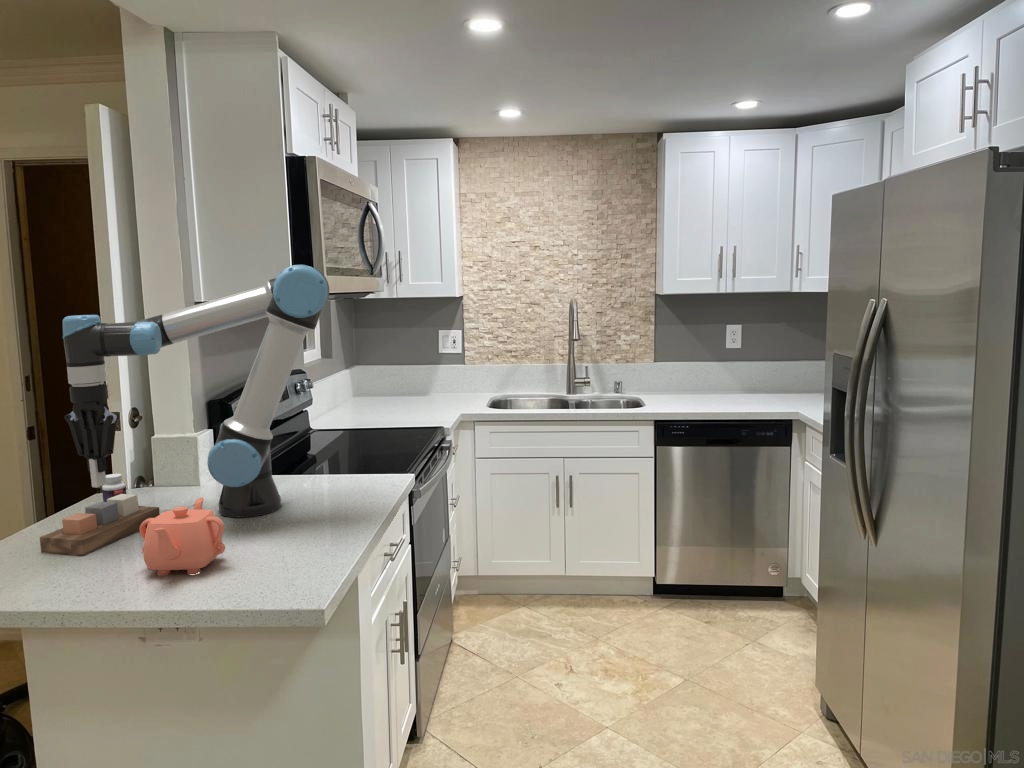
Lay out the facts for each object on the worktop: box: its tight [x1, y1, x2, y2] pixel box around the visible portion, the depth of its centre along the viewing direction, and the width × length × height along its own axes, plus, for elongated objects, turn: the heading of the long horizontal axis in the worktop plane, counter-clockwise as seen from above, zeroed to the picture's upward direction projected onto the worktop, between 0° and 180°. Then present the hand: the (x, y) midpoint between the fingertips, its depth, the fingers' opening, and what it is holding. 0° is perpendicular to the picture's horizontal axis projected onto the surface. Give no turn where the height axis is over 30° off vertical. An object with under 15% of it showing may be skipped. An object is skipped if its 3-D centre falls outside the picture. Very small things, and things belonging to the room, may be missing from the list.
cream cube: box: [107, 493, 139, 517], centre depth 181 cm, size 5×5×5 cm
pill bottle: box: [101, 473, 127, 502], centre depth 193 cm, size 5×5×10 cm
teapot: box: [139, 496, 226, 577], centre depth 154 cm, size 15×17×13 cm
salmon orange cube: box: [61, 512, 97, 535], centre depth 168 cm, size 5×5×5 cm
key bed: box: [39, 505, 161, 557], centre depth 175 cm, size 11×24×4 cm, turn 166°
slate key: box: [84, 501, 119, 526], centre depth 175 cm, size 5×5×5 cm
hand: (99, 485), depth 173 cm, fingers closed
